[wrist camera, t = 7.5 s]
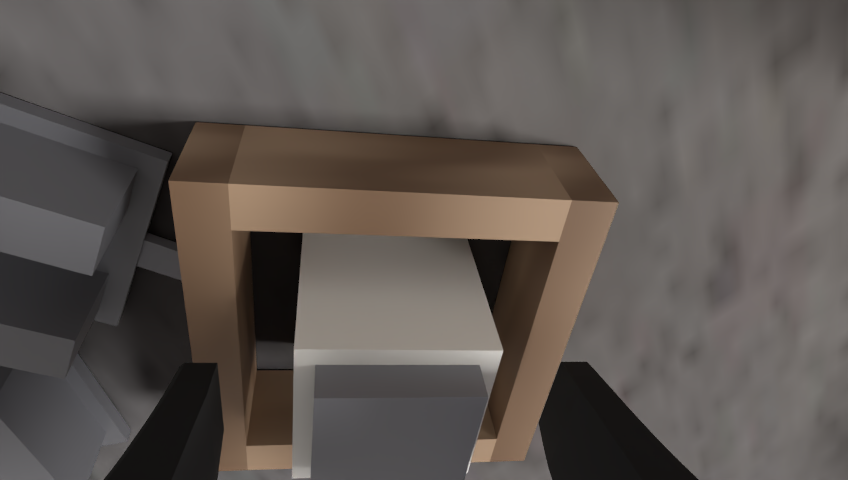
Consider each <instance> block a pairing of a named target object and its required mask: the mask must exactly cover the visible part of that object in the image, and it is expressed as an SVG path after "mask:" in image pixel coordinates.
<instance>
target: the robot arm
mask: <svg viewBox="0 0 848 480" xmlns="http://www.w3.org/2000/svg"><path fill="white" fill-rule="evenodd" d="M539 426H540V431H541V436H542V441H543V446H544V450H545V455H546V459H547V463H548V467H549V471H550V474H551V477H552V480H698V479H697V478H696V477H695V476H694V475H693V474H692V473H691V472H690V471H689V470H688V469H687V468H686V467H685V466H684V465H683V464H682V463H681V462H680V461H679V460H678V459H677V458H676V457H675V456H674V455H673V454H672V453H671V452H670V451H669V450H668V449H667V448H666V447H665V446H664V445H663V444H662V443H661V442H660V441H659V440H658V439H657V438H656V437H655V436H654V435H653V434H652V433H651V432H650V431H649V430H648V429H647V427H646V426H645V425H644V424H643V423H642V422H641V421H640V420H639V419H638V418H637V417H636V416H635V414H634V413H633V412H632V411H631V410H630V409H629V408H628V407H627V406H626V405H625V403H624V402H623V401H622V400H621V399H620V398H619V397H618V396H617V395H616V393H615V392H614V391H613V390H612V389H611V388H610V387H609V386H608V384H607V383H606V382H605V381H604V380H603V379H602V378H601V377H600V376H599V374H598V373H597V372H596V371H595V370H594V369H593V368H592V367H591V366H590V365H589V363H588V362H561V363H560V366H559V369H558V371H557V374H556V377H555V380H554V382H553V385H552V388H551V390H550V393H549V396H548V399H547V401H546V404H545V407H544V410H543V412H542V415H541V418H540V420H539ZM223 434H224V423H223V413H222V403H221V393H220V383H219V373H218V363H184V364H183V365H181V366H180V367H179V369H178V371H177V373H176V374H175V376H174V378H173V380H172V381H171V383H170V385H169V386H168V388H167V390H166V391H165V393H164V395H163V396H162V398H161V399H160V401H159V403H158V404H157V406H156V407H155V409H154V410H153V412H152V413H151V415H150V416H149V418H148V419H147V421H146V423H145V424H144V425H143V427H142V428H141V430H140V431H139V433H138V434H137V435H136V437H135V438H134V440H133V441H132V442H131V444H130V445H129V447H128V448H127V450H126V451H125V452H124V454H123V455H122V457H121V458H120V459H119V461H118V462H117V463H116V465H115V466H114V467H113V469H112V470H111V471H110V472H109V474H108V475H107V476H106V477H105V479H104V480H217V478H218V471H219V464H220V457H221V449H222V441H223Z"/></svg>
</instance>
